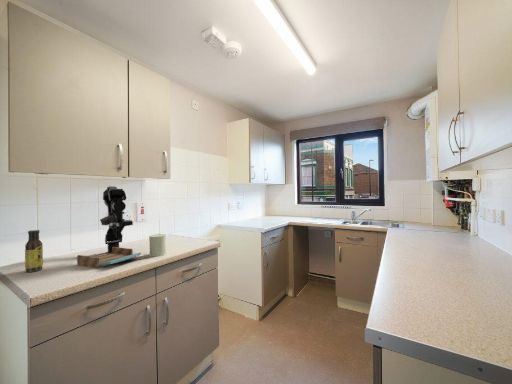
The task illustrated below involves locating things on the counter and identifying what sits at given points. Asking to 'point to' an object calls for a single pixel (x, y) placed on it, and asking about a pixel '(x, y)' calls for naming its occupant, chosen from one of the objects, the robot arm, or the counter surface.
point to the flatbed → (103, 257)
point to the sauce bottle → (33, 252)
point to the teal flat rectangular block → (121, 259)
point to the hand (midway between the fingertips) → (117, 237)
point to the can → (157, 245)
